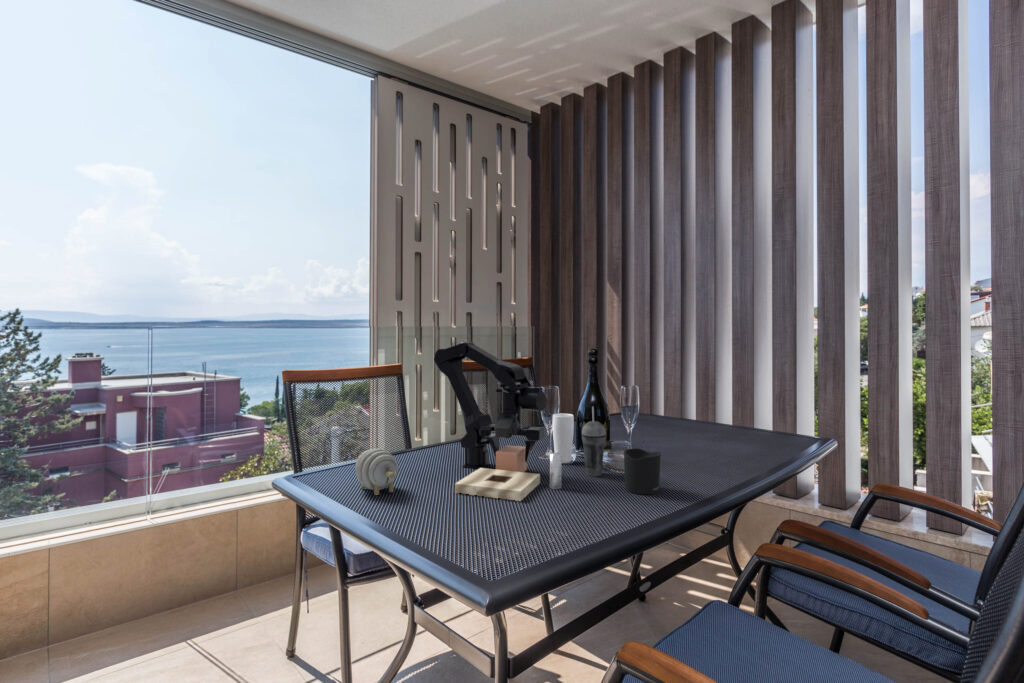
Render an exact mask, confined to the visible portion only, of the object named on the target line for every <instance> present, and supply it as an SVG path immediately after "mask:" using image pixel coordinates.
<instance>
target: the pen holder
mask: <svg viewBox="0 0 1024 683" xmlns="http://www.w3.org/2000/svg"><path fill="white" fill-rule="evenodd" d="M661 458H662V457H661V452H660V451H655V452H650V451H646V450H644V449H642V448H627V449H625V450H624V451H623V462H624V469H623V471H624V487H625V489H627V490H628V491H627V490H626V491H627V492H629V491H630V492H629V493H631V492H633V493H632V494H635V493H638V494H637V495H642V494H650V495H654V493H655V494H656V492H657V493H658V492H659V490H660V476H661Z"/></svg>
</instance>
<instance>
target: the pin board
mask: <svg viewBox="0 0 1024 683" xmlns="http://www.w3.org/2000/svg"><path fill="white" fill-rule="evenodd" d="M540 483H541V473H535V472H534V473H533V472H526V471H525V472H516V471H506V470H497V469H496V468H495V469H493V468H487V467H483V468H477V469H476V470H474V471H473V472H471V473H469V474H468V475H466V476H465V477H463V478H461V479H460V480H458V481H457V482H455V483H454V493H455V494H459V493H462V494H461V495H466V494H469V496H474V495H477V496H476V497H482V496H484V497H485V498H490V497H491V499H498V498H501V499H500V500H506V499H507V500H506V501H508V500H509V501H513V500H515V502H521V501H523V499H524V498H526V497H527V496H528V495H529V494H530V493H531V492H532V491H533V490H534V489H536V488H537V486H539V485H540ZM484 497H483V498H484Z"/></svg>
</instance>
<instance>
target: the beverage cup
mask: <svg viewBox="0 0 1024 683" xmlns="http://www.w3.org/2000/svg"><path fill="white" fill-rule="evenodd" d="M594 407H595V406H591V414H592V415H591V416H592V417H591V419H592V420H590V421H588V422H586V423H585V425H584V426H583V427H582V429H581V430H582V431H581V441H582V446H583V456H584V457H583V458H584V469H585V475H587V476H591V477H599V476H602V471H603V464H604V452H605V443H606V439H607V436H608V435H607V432H606V431H607V430H606V428H605V427H604V426H605V425H604V424H602V423H601V422H599V421H597V420H595V408H594Z"/></svg>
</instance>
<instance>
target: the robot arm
mask: <svg viewBox="0 0 1024 683" xmlns="http://www.w3.org/2000/svg"><path fill="white" fill-rule="evenodd" d="M466 358H468V359H469V360H470V361H472V362H474V363H476V364H478V365H479V366H481V367H483V368H484V369H485V370H487V371H488V372H490V373H492V375H493V378H494V379H495V380H497V381H498V382H499V383H500V386H499V387H497V388H496V389H495V392H496V393H501V412H500V415H499V420H498V421H496V423H494V422H493V421H492V417H491V415H490V414H489V413H486V414H484V413H483V412H482V411H481V410H480V408H479V405H478V403H477V401H476V398H475V396H474V393H473V392H472V390H471V387H470V386H469V385H470V384H468V382H467V379H466V376H465V375H464V372H463V364H464V361H463V360H464V359H466ZM433 362H434V363H435V365H436V366H437V368H438V369H439V371H440V372H442V373H443V374H444V375H445V376H446V377H447V379H448V381H449V384H450V385H451V388H452V390H453V392H454V395H455V397H456V398H457V401H458V404H459V406H460V409H461V410H462V412H463V415H464V417H465V424H464V425H465V426H464V428H465V432H466V434H464V436H463V437H462V438H461V439H460V445H461V447H462V448H464V463H463V464H462V467H464V468H472V469H479V468H486V466H488V465H490V460H489V459H490V458H489V454H490V452H489V449H488V445H490V446H491V448H492V449H491V450H492V451H493V456H494V457H495V459H496V452H497V451H498V450H500V438H504V439H511V438H512V437H513V436H522V437H525V438H526V439H525V440H524V444H525V447H526V450H525V462H527V463H528V462H529V459H530V456H531V454H532V450H533V449H534V446H535V444H536V443H537V442H538V441H541V440H542V439H543V438H545V434H546V433H545V429H544V428H543V427H539V426H530V427H529V428H527V429H523V427H524V426H523V424H522V415H524V414H523V412H524V411H525V410H526V411H534V412H543V411H544V410H545V408H546V406H547V397H546V393H545V392H544V391H543V387H541V386H536V387H533V386H532V384H531V383H530V380H529V379H528V378H527V375H526V374H525V369H524V368H523V367H522V366H521V365H519V364H517V363H516V364H515V363H514V362H510V361H505V360H501V359H500V358H498V357H496V356H495V355H493V354H491V353H490V352H488V351H486V350H485V349H484V348H483V349H482V348H481V347H479V346H478V345H476V344H475V343H474V342H473V341H462V342H459V343H458V344H456V345H453V346H449V347H447V348H439V349H437V350H436V351H435V352H434V356H433ZM523 410H524V411H523Z"/></svg>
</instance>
